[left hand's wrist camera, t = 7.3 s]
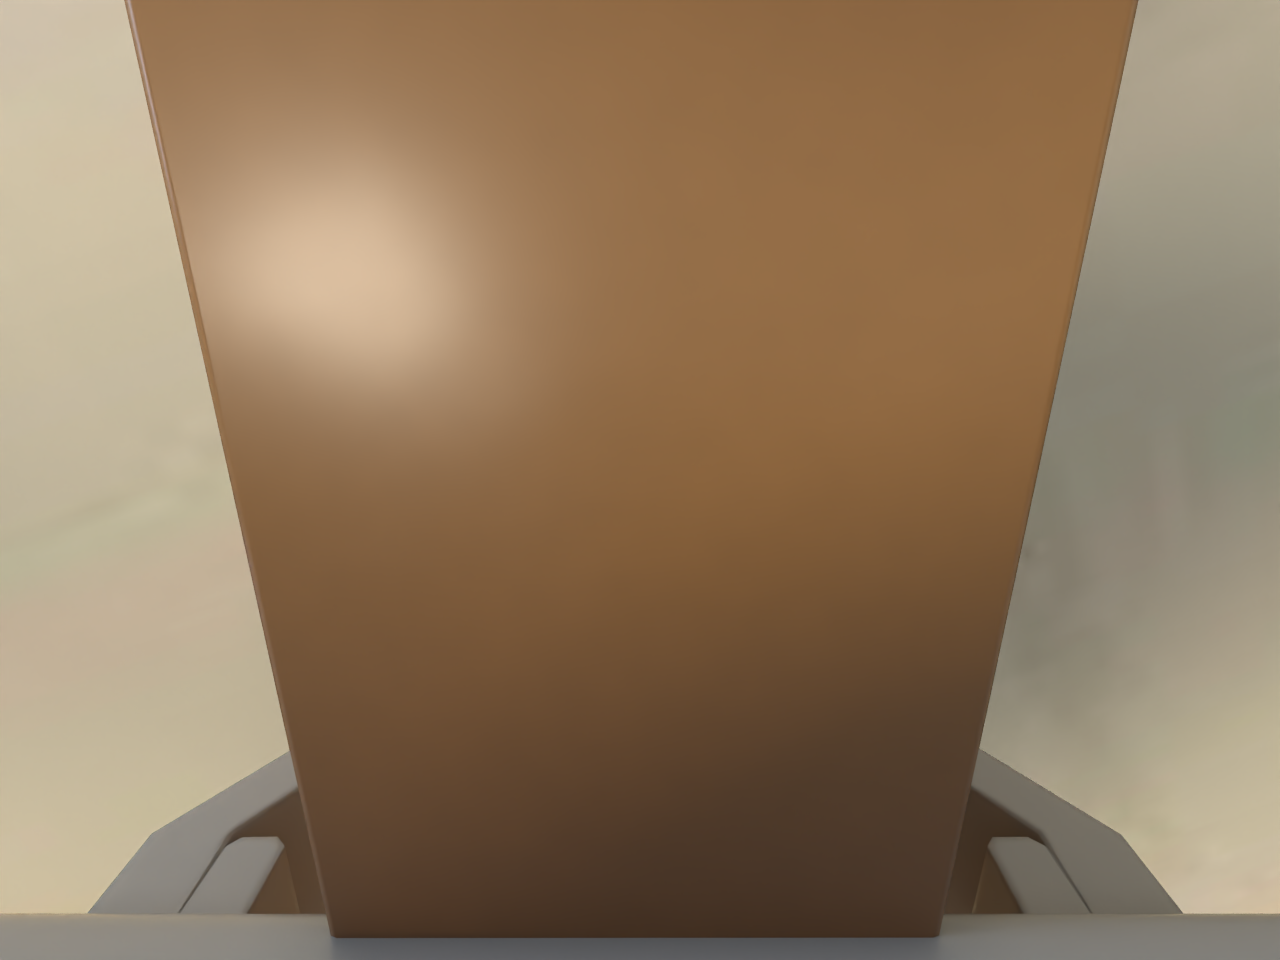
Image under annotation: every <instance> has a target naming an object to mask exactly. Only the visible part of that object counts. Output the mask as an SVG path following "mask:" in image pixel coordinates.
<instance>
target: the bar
mask: <svg viewBox="0 0 1280 960" xmlns="http://www.w3.org/2000/svg"><path fill="white" fill-rule="evenodd" d="M1137 4H1138V0H125V5H126V9H127V14H128V19H129V23H130V28H131V32H132V37H133V41H134V46H135V50H136V55H137V59H138V64H139V68H140V73H141V78H142V82H143V87H144V91H145V96H146V100H147V105H148V109H149V114H150V118H151V123H152V127H153V132H154V136H155V141H156V146H157V150H158V155H159V159H160V164H161V168H162V173H163V177H164V182H165V186H166V191H167V195H168V200H169V205H170V209H171V214H172V218H173V223H174V227H175V232H176V236H177V241H178V245H179V250H180V254H181V259H182V263H183V268H184V273H185V277H186V282H187V286H188V291H189V295H190V300H191V304H192V309H193V313H194V318H195V322H196V327H197V332H198V336H199V341H200V345H201V350H202V354H203V359H204V363H205V368H206V372H207V377H208V381H209V386H210V390H211V395H212V400H213V404H214V409H215V413H216V418H217V422H218V427H219V431H220V436H221V440H222V445H223V449H224V454H225V459H226V463H227V468H228V472H229V477H230V481H231V486H232V490H233V495H234V499H235V504H236V508H237V513H238V517H239V522H240V527H241V531H242V536H243V540H244V545H245V549H246V554H247V558H248V563H249V567H250V572H251V576H252V581H253V585H254V590H255V595H256V599H257V604H258V608H259V613H260V617H261V622H262V626H263V631H264V635H265V640H266V644H267V649H268V654H269V658H270V663H271V667H272V672H273V676H274V681H275V685H276V690H277V694H278V699H279V703H280V708H281V712H282V717H283V722H284V726H285V731H286V735H287V740H288V744H289V749H290V753H291V758H292V762H293V767H294V771H295V776H296V781H297V785H298V790H299V794H300V799H301V803H302V808H303V812H304V817H305V821H306V826H307V830H308V835H309V839H310V844H311V849H312V853H313V858H314V862H315V867H316V871H317V876H318V880H319V885H320V889H321V894H322V898H323V903H324V908H325V912H326V917H327V921H328V926H329V930H330V935H331V936H333V937H335V938H933V937H936V936H938V935H939V933H940V929H941V924H942V919H943V915H944V910H945V905H946V900H947V896H948V891H949V886H950V882H951V877H952V872H953V868H954V863H955V858H956V854H957V849H958V844H959V839H960V835H961V830H962V825H963V821H964V816H965V811H966V807H967V802H968V797H969V793H970V788H971V783H972V778H973V774H974V769H975V764H976V760H977V755H978V750H979V746H980V741H981V736H982V731H983V727H984V722H985V717H986V713H987V708H988V703H989V699H990V694H991V689H992V685H993V680H994V675H995V670H996V666H997V661H998V656H999V652H1000V647H1001V642H1002V638H1003V633H1004V628H1005V624H1006V619H1007V614H1008V609H1009V605H1010V600H1011V595H1012V591H1013V586H1014V581H1015V577H1016V572H1017V567H1018V562H1019V558H1020V553H1021V548H1022V544H1023V539H1024V534H1025V530H1026V525H1027V520H1028V516H1029V511H1030V506H1031V501H1032V497H1033V492H1034V487H1035V483H1036V478H1037V473H1038V469H1039V464H1040V459H1041V455H1042V450H1043V445H1044V440H1045V436H1046V431H1047V426H1048V422H1049V417H1050V412H1051V408H1052V403H1053V398H1054V394H1055V389H1056V384H1057V379H1058V375H1059V370H1060V365H1061V361H1062V356H1063V351H1064V347H1065V342H1066V337H1067V332H1068V328H1069V323H1070V318H1071V314H1072V309H1073V304H1074V300H1075V295H1076V290H1077V286H1078V281H1079V276H1080V271H1081V267H1082V262H1083V257H1084V253H1085V248H1086V243H1087V239H1088V234H1089V229H1090V225H1091V220H1092V215H1093V210H1094V206H1095V201H1096V196H1097V192H1098V187H1099V182H1100V178H1101V173H1102V168H1103V163H1104V159H1105V154H1106V149H1107V145H1108V140H1109V135H1110V131H1111V126H1112V121H1113V117H1114V112H1115V107H1116V102H1117V98H1118V93H1119V88H1120V84H1121V79H1122V74H1123V70H1124V65H1125V60H1126V56H1127V51H1128V46H1129V41H1130V37H1131V32H1132V27H1133V23H1134V18H1135V13H1136V9H1137Z"/></svg>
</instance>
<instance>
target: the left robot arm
mask: <svg viewBox="0 0 1280 960" xmlns="http://www.w3.org/2000/svg"><path fill="white" fill-rule="evenodd" d="M0 960H1280V914H1183V913H1182V911H1181V910H1180V909H1179V907H1178V906H1177V905H1176V904H1175V902H1174V901H1173V900H1172V899H1171V897H1170V896H1169V895H1168V893H1167V892H1166V891H1165V890H1164V888H1163V887H1162V886H1161V885H1160V883H1159V882H1158V881H1157V880H1156V878H1155V877H1154V876H1153V874H1152V873H1151V872H1150V871H1149V869H1148V868H1147V867H1146V866H1145V864H1144V863H1143V862H1142V861H1141V859H1140V858H1139V857H1138V855H1137V854H1136V853H1135V852H1134V850H1133V849H1132V848H1131V847H1130V845H1129V844H1128V843H1127V841H1126V840H1125V839H1124V838H1123V836H1122V835H1121V834H1119V833H1117V832H1116V831H1114V830H1112V829H1111V828H1109V827H1107V826H1106V825H1104V824H1103V823H1101V822H1099V821H1098V820H1096V819H1094V818H1093V817H1091V816H1089V815H1088V814H1086V813H1084V812H1083V811H1081V810H1080V809H1078V808H1076V807H1075V806H1073V805H1071V804H1070V803H1068V802H1066V801H1065V800H1063V799H1061V798H1060V797H1058V796H1056V795H1055V794H1053V793H1052V792H1050V791H1048V790H1047V789H1045V788H1043V787H1042V786H1040V785H1038V784H1037V783H1035V782H1033V781H1032V780H1030V779H1028V778H1027V777H1025V776H1024V775H1022V774H1020V773H1019V772H1017V771H1015V770H1014V769H1012V768H1010V767H1009V766H1007V765H1005V764H1004V763H1002V762H1000V761H999V760H997V759H996V758H994V757H992V756H991V755H989V754H987V753H986V752H984V751H982V750H981V749H979V750H978V755H977V760H976V764H975V769H974V774H973V778H972V783H971V788H970V793H969V797H968V802H967V807H966V811H965V816H964V821H963V825H962V830H961V835H960V839H959V844H958V849H957V854H956V858H955V863H954V868H953V872H952V877H951V882H950V886H949V891H948V896H947V900H946V905H945V910H944V915H943V919H942V924H941V929H940V933H939V935H938V936H936V937H933V938H335V937H333V936H331V935H330V930H329V926H328V921H327V917H326V912H325V908H324V903H323V898H322V894H321V889H320V885H319V880H318V876H317V871H316V867H315V862H314V858H313V853H312V849H311V844H310V839H309V835H308V830H307V826H306V821H305V817H304V812H303V808H302V803H301V799H300V794H299V790H298V785H297V781H296V776H295V771H294V767H293V762H292V758H291V753H290V751H289V752H287V753H285V754H284V755H282V756H280V757H279V758H277V759H275V760H274V761H272V762H270V763H269V764H267V765H265V766H264V767H262V768H260V769H259V770H257V771H255V772H254V773H252V774H250V775H249V776H247V777H245V778H244V779H242V780H240V781H239V782H237V783H235V784H234V785H232V786H230V787H229V788H227V789H225V790H224V791H222V792H220V793H219V794H217V795H215V796H214V797H212V798H210V799H209V800H207V801H205V802H204V803H202V804H200V805H199V806H197V807H195V808H194V809H192V810H190V811H189V812H187V813H185V814H184V815H182V816H180V817H179V818H177V819H175V820H174V821H172V822H170V823H169V824H167V825H165V826H164V827H162V828H160V829H159V830H157V831H155V832H154V833H152V834H151V835H150V836H149V838H148V839H147V840H146V841H145V843H144V844H143V845H142V846H141V848H140V849H139V850H138V851H137V853H136V854H135V855H134V856H133V858H132V859H131V860H130V861H129V862H128V864H127V865H126V866H125V867H124V869H123V870H122V871H121V872H120V874H119V875H118V876H117V877H116V879H115V880H114V881H113V882H112V883H111V885H110V886H109V887H108V888H107V890H106V891H105V892H104V893H103V895H102V896H101V897H100V898H99V900H98V901H97V902H96V903H95V905H94V906H93V907H92V908H91V909H90V911H89V912H88V913H87V914H0Z"/></svg>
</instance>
